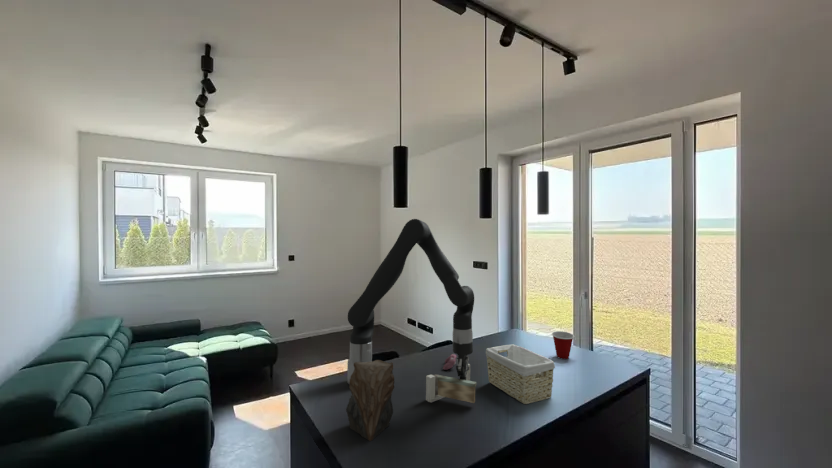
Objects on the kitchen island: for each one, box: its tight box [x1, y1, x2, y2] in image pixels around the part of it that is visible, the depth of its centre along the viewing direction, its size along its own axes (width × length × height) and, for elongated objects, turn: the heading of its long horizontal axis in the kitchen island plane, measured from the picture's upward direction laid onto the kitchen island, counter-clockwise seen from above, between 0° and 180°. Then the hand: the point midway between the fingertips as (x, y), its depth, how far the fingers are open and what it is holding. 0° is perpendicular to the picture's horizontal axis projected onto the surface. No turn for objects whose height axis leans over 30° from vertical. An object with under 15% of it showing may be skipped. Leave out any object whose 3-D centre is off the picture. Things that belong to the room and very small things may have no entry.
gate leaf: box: [432, 374, 478, 404], centre depth 127 cm, size 16×2×7 cm, turn 65°
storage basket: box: [485, 343, 556, 405], centre depth 137 cm, size 24×16×15 cm
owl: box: [345, 359, 395, 442], centre depth 110 cm, size 13×13×20 cm
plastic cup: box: [551, 330, 575, 360], centre depth 177 cm, size 11×11×12 cm
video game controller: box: [442, 353, 458, 371], centre depth 162 cm, size 10×5×7 cm, turn 169°
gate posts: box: [425, 363, 471, 403], centre depth 134 cm, size 22×3×9 cm, turn 130°
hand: (462, 385), depth 129 cm, fingers closed
